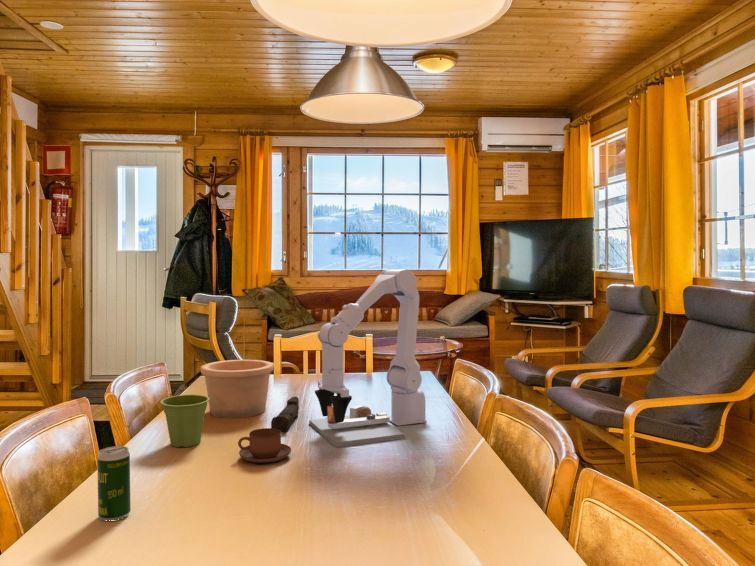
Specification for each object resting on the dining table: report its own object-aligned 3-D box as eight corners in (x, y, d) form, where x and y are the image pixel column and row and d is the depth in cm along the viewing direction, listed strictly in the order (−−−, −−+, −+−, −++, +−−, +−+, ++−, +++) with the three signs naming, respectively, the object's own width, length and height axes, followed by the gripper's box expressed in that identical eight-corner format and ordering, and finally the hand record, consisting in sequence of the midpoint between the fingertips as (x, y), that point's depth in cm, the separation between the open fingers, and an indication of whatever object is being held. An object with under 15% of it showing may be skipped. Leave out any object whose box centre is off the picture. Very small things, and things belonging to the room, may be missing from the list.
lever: (384, 418, 167) (384, 397, 167) (391, 423, 163) (391, 401, 163) (323, 425, 160) (323, 403, 160) (329, 430, 156) (329, 407, 156)
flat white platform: (370, 417, 175) (370, 402, 175) (404, 438, 154) (404, 421, 154) (309, 424, 168) (309, 408, 168) (335, 447, 147) (335, 429, 147)
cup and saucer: (246, 470, 131) (246, 443, 131) (233, 454, 142) (233, 429, 141) (298, 462, 136) (298, 435, 136) (281, 447, 147) (281, 423, 147)
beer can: (121, 507, 111) (121, 443, 110) (136, 515, 107) (135, 449, 107) (92, 516, 106) (91, 450, 106) (106, 525, 103) (105, 457, 103)
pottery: (221, 425, 167) (221, 374, 167) (189, 410, 184) (188, 364, 183) (287, 412, 182) (286, 365, 181) (251, 399, 198) (251, 357, 198)
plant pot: (150, 447, 146) (149, 402, 146) (181, 434, 157) (181, 393, 157) (190, 453, 142) (189, 406, 142) (219, 439, 153) (219, 396, 153)
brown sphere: (368, 417, 171) (368, 404, 171) (373, 420, 168) (373, 407, 168) (356, 418, 170) (356, 405, 169) (361, 421, 166) (361, 408, 166)
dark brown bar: (287, 434, 159) (288, 413, 159) (270, 433, 159) (270, 413, 159) (307, 413, 182) (307, 395, 181) (291, 412, 182) (291, 394, 182)
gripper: (307, 365, 162) (307, 414, 162) (331, 374, 149) (331, 427, 150) (330, 363, 165) (330, 411, 166) (356, 371, 153) (356, 423, 153)
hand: (332, 418), depth 158 cm, fingers open, 7 cm apart
